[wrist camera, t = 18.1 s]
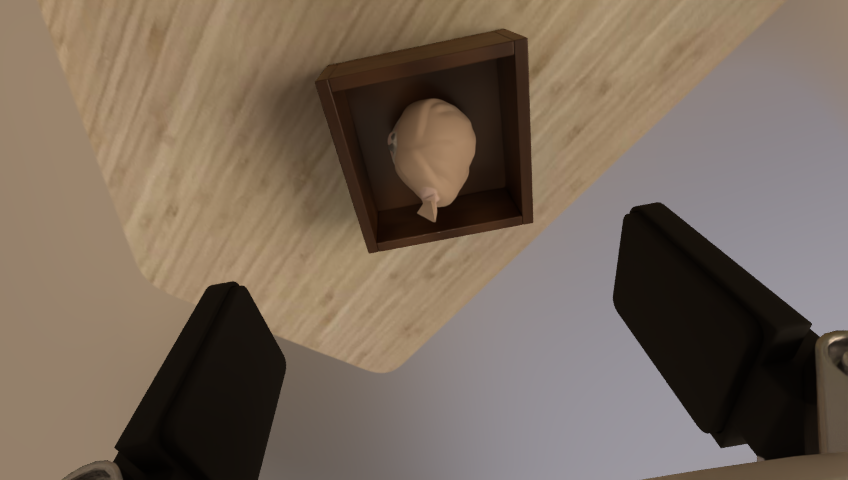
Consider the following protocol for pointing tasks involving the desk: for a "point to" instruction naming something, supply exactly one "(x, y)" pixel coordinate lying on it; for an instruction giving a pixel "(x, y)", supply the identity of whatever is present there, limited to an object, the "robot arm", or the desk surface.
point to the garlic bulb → (432, 152)
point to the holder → (457, 85)
